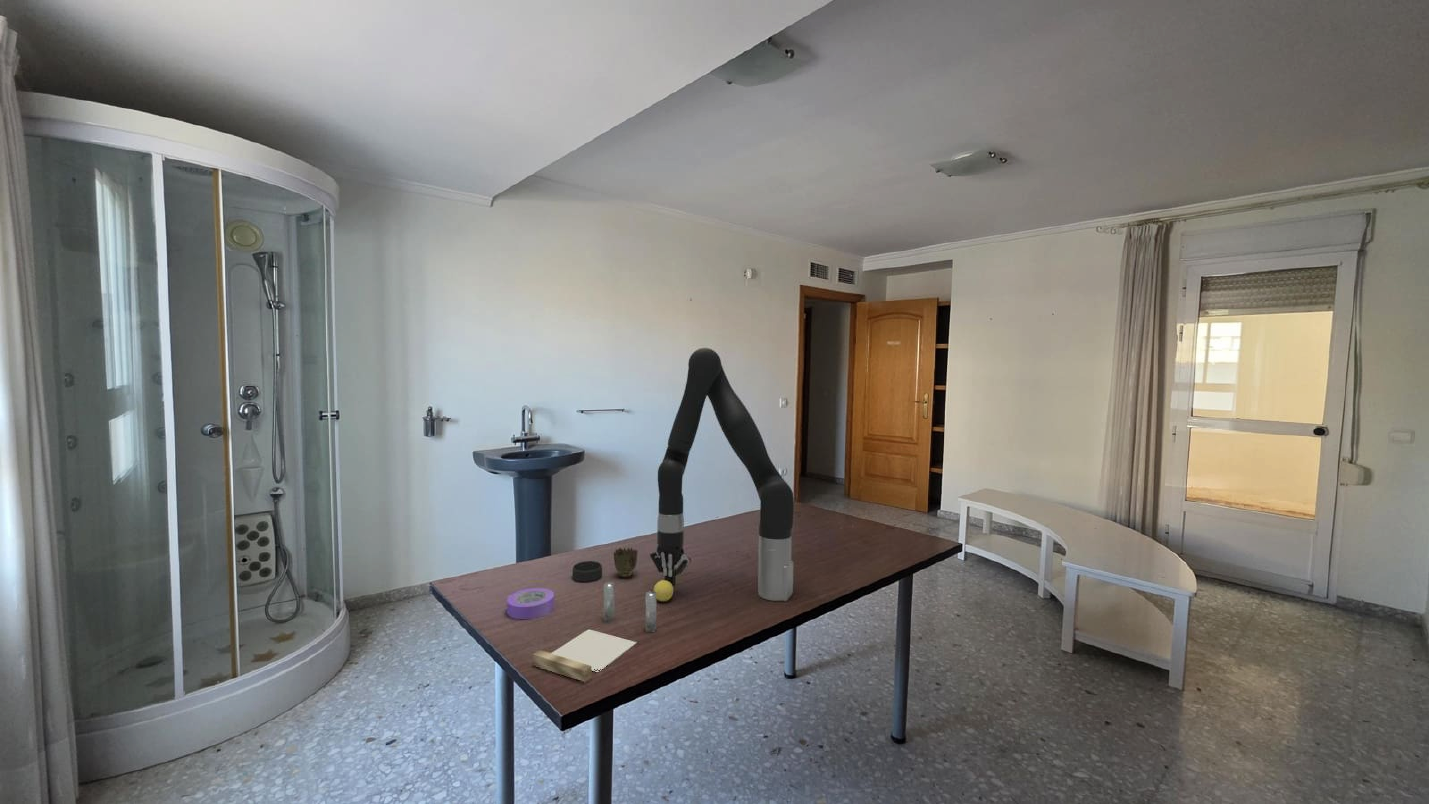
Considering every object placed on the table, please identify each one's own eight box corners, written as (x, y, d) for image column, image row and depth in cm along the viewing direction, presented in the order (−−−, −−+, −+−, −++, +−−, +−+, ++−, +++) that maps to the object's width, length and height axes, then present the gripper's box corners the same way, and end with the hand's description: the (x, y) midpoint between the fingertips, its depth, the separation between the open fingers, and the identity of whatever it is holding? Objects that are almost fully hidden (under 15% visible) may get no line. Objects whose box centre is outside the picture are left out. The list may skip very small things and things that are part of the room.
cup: (632, 581, 156) (632, 555, 156) (609, 579, 158) (609, 553, 157) (640, 573, 163) (640, 548, 163) (618, 571, 165) (619, 546, 165)
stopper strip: (591, 678, 105) (591, 666, 105) (584, 683, 103) (584, 671, 103) (539, 661, 111) (539, 650, 111) (532, 666, 109) (532, 654, 109)
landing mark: (636, 643, 119) (636, 642, 119) (597, 673, 106) (597, 672, 106) (588, 630, 125) (588, 629, 125) (546, 657, 113) (546, 656, 113)
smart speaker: (599, 583, 156) (599, 570, 155) (569, 583, 155) (569, 570, 155) (603, 572, 164) (603, 560, 164) (575, 573, 164) (575, 560, 164)
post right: (658, 628, 126) (658, 592, 126) (652, 633, 124) (652, 596, 124) (649, 626, 127) (649, 590, 127) (643, 630, 125) (643, 594, 125)
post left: (616, 618, 132) (616, 583, 132) (609, 622, 129) (610, 586, 129) (608, 616, 133) (608, 581, 133) (601, 620, 131) (601, 585, 130)
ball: (677, 598, 144) (677, 579, 144) (666, 606, 139) (666, 586, 139) (660, 595, 146) (660, 576, 146) (649, 602, 142) (649, 582, 141)
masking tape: (535, 623, 129) (535, 608, 129) (497, 617, 132) (497, 602, 132) (562, 604, 140) (562, 590, 140) (526, 599, 144) (526, 585, 143)
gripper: (697, 528, 147) (696, 588, 148) (659, 521, 153) (658, 579, 154) (683, 534, 140) (682, 597, 141) (643, 527, 147) (643, 587, 147)
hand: (669, 588), depth 147 cm, fingers closed
